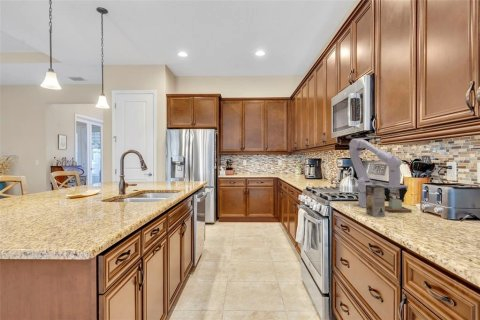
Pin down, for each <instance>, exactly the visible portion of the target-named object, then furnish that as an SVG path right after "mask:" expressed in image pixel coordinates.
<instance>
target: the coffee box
mask: <svg viewBox="0 0 480 320" xmlns="http://www.w3.org/2000/svg"><path fill="white" fill-rule="evenodd" d="M385 200H386V197H385V192H384V187H383V186H381V185H378V184H374V185H366V207H365V212H366V214H367V215H369V216H372V217H386V215H385V213H386V211H385V206H386V201H385Z"/></svg>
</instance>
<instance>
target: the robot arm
mask: <svg viewBox="0 0 480 320" xmlns="http://www.w3.org/2000/svg"><path fill="white" fill-rule="evenodd" d="M348 147H349V149H348V150H349V151H348V153H349V154H348V155H349V156H350V160H351V163H352V165H353V167H354V170H355V174H356V177H357V182H356V183H357V190H358V192H359V193H358V198H357V199H358V203H357V204H356V205H357V206H359V207H361V208H366V185H375V184H374V183H373V182H372V180H371V179H370V178H369V176H367V175H368V174H367V173H366V170H365V167H364V165H363V162H362V160H361V157H360V153H361V152H362V151H363V150H364V149H366V150H368V151H369V152H371V153H373V154H374V155H376V158H377V159H378V160H380V161H382V162H383V163H385V164H386V165H387V167H388V184H387V185H386V184H385V185H383V184H381V185H380V186H383V187H384V192H385V200H386V201H385V202H388V201H389V200H390V199H391V198H390V194H391V190H392V189H393V190H396V189H397V190H398V192H399V199H400V200H402V202H404V198H405V195H406V194H407V192H408V190H409V185H407V184H405V185H404V184H403V185H402V184H401V165H402V163H403V162H402V159H400V157H399V156H398V157H397V156H396V157H395V155H394V154H391V153H389V152H388V150H385V149H381V150H380V149H379V148H377V147H376V146H375V145H373V144H371V143H370V142H369V141H367V140H365V139H363V138H352V139H351V140H350V142H349V143H348Z"/></svg>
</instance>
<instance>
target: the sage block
mask: <svg viewBox="0 0 480 320" xmlns="http://www.w3.org/2000/svg"><path fill="white" fill-rule="evenodd" d="M402 202H403V201H402V200H400V198H390V200H389V201H387V203H388V204H387V206H388V207H389V208H392V209H402V207H403V203H402Z"/></svg>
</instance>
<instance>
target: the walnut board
mask: <svg viewBox="0 0 480 320" xmlns="http://www.w3.org/2000/svg"><path fill="white" fill-rule="evenodd" d="M412 211H413V210H412V209H410V208H408V207H404V206H402V209H392V208H389V207H388V205H385V212H387V213H390V214H391V213H397V214H399V213H403V214H404V213H405V214H406V213H412Z"/></svg>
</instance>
